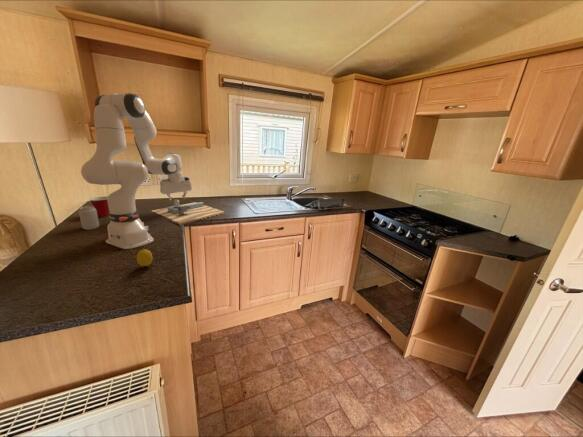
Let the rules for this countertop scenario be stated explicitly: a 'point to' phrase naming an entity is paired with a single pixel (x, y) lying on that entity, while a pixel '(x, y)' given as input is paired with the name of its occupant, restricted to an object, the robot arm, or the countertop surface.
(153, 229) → the countertop surface
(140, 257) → the lemon
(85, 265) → the countertop surface
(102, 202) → the plastic cup
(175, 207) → the pin
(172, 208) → the link
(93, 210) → the can
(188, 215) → the board
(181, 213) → the keeper
